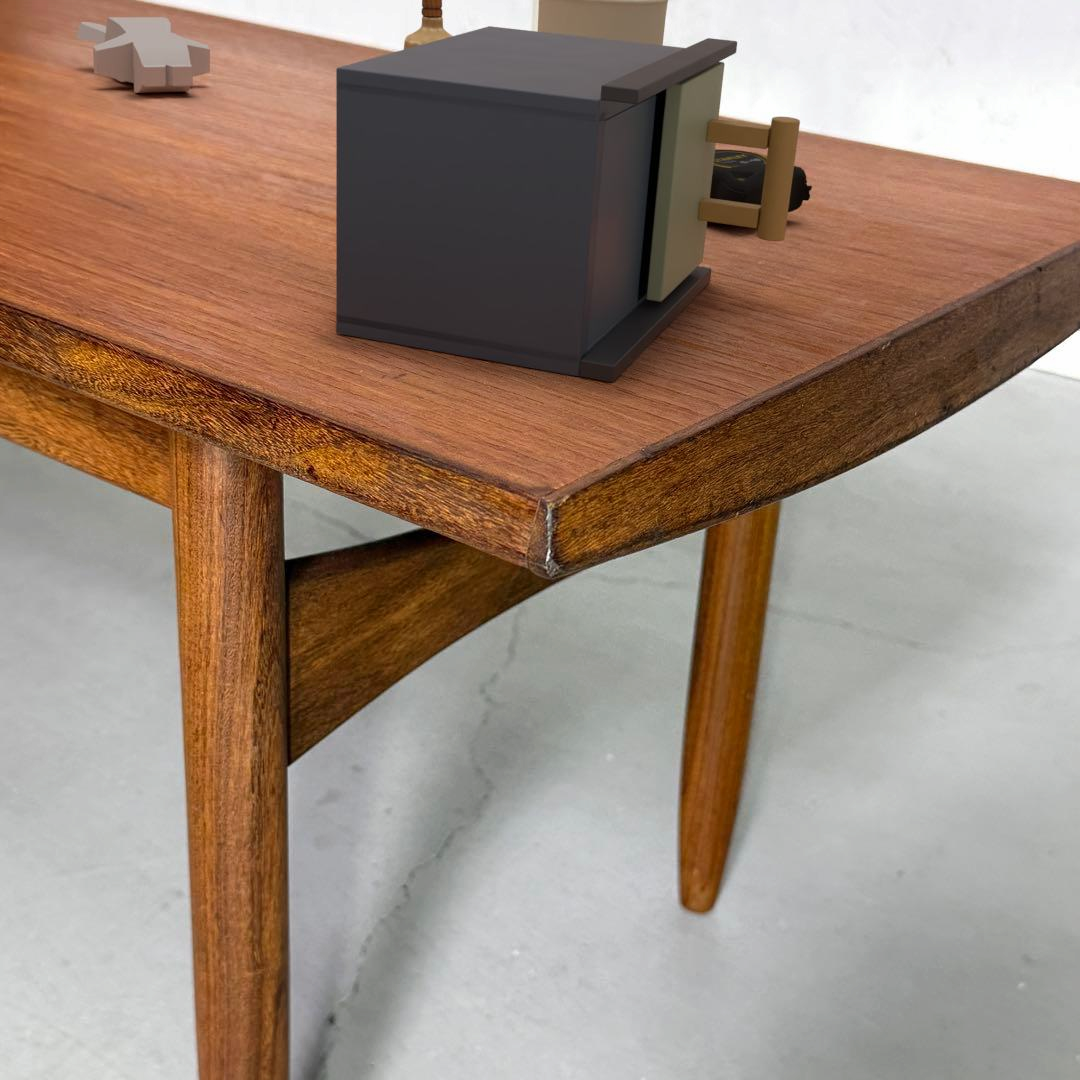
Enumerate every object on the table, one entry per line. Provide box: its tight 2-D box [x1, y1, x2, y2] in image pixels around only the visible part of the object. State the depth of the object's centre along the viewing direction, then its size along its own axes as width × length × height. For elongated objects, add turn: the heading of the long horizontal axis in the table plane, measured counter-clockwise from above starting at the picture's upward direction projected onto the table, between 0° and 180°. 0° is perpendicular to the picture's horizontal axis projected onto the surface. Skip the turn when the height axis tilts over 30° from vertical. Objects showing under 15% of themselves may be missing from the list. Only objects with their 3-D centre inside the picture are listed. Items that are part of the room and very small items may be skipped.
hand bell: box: [403, 0, 453, 50], centre depth 120 cm, size 8×8×16 cm
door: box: [646, 61, 801, 302], centre depth 74 cm, size 5×8×10 cm, turn 160°
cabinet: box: [335, 25, 738, 383], centre depth 72 cm, size 14×18×13 cm
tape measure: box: [710, 148, 813, 213], centre depth 94 cm, size 7×7×4 cm
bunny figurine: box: [75, 16, 211, 94], centre depth 124 cm, size 10×5×15 cm
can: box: [537, 0, 669, 46], centre depth 106 cm, size 9×9×12 cm
